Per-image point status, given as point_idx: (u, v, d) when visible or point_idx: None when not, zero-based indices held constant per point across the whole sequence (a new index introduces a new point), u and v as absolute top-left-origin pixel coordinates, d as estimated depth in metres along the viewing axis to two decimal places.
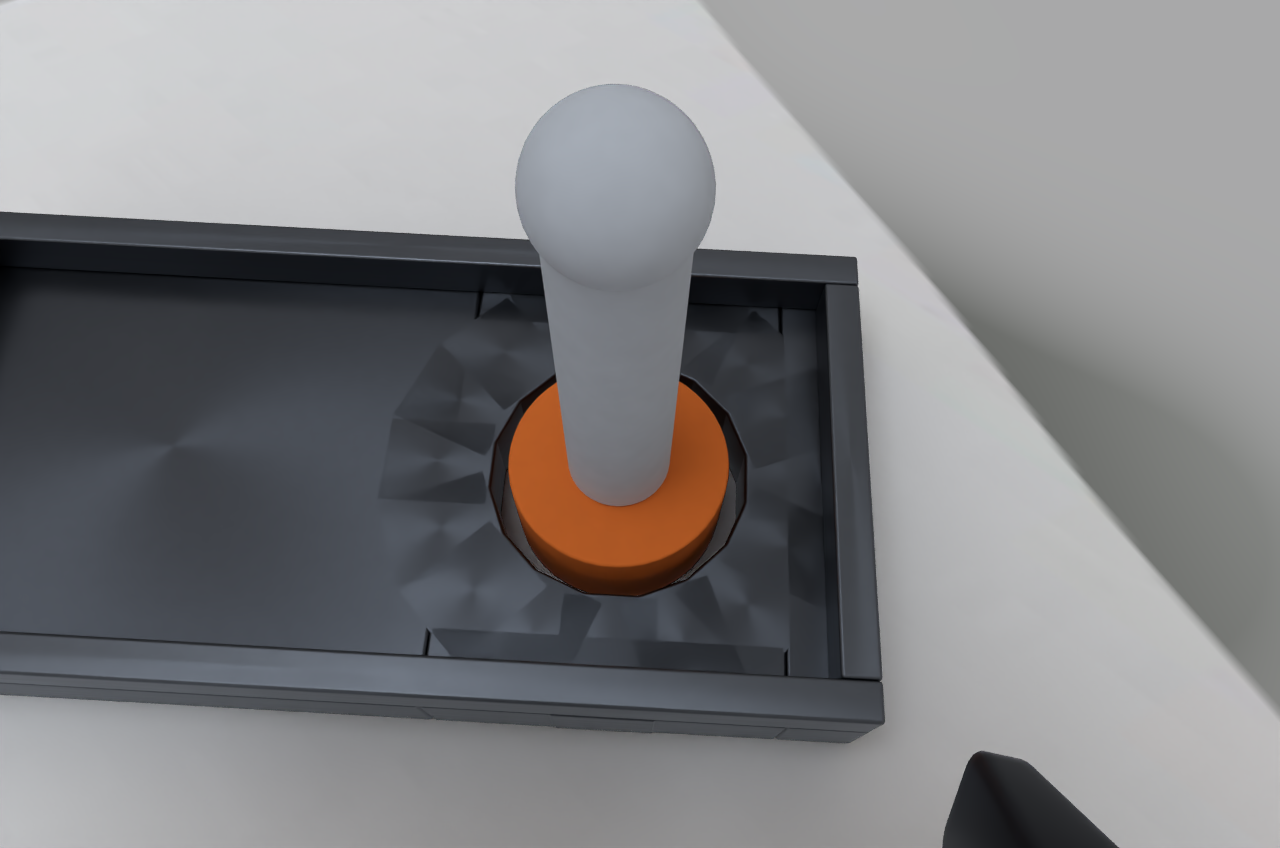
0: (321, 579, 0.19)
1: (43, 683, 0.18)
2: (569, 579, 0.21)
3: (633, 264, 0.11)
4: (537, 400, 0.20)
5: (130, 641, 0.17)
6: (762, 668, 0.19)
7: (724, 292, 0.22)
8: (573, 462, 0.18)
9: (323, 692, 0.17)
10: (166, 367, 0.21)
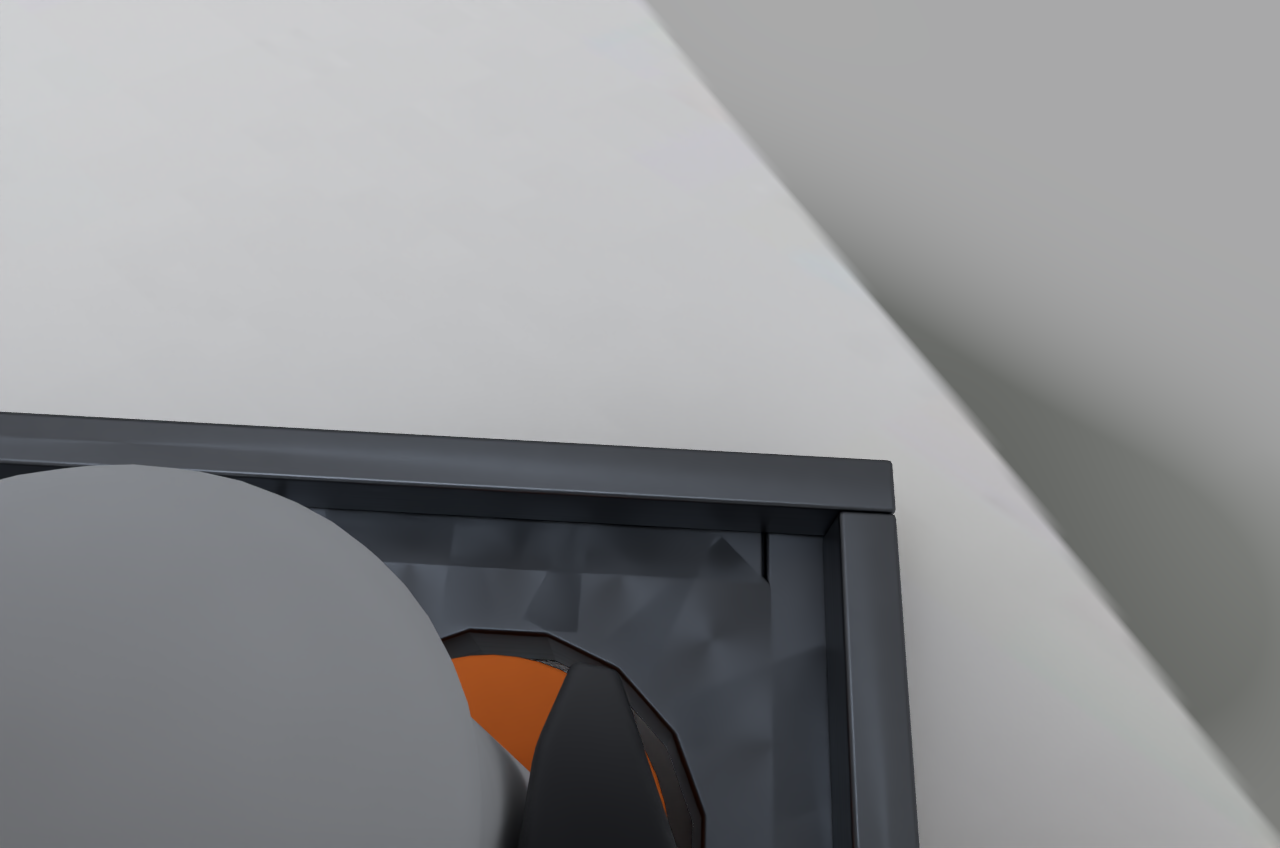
0: None
1: None
2: None
3: None
4: None
5: None
6: None
7: (671, 515, 0.13)
8: None
9: None
10: None
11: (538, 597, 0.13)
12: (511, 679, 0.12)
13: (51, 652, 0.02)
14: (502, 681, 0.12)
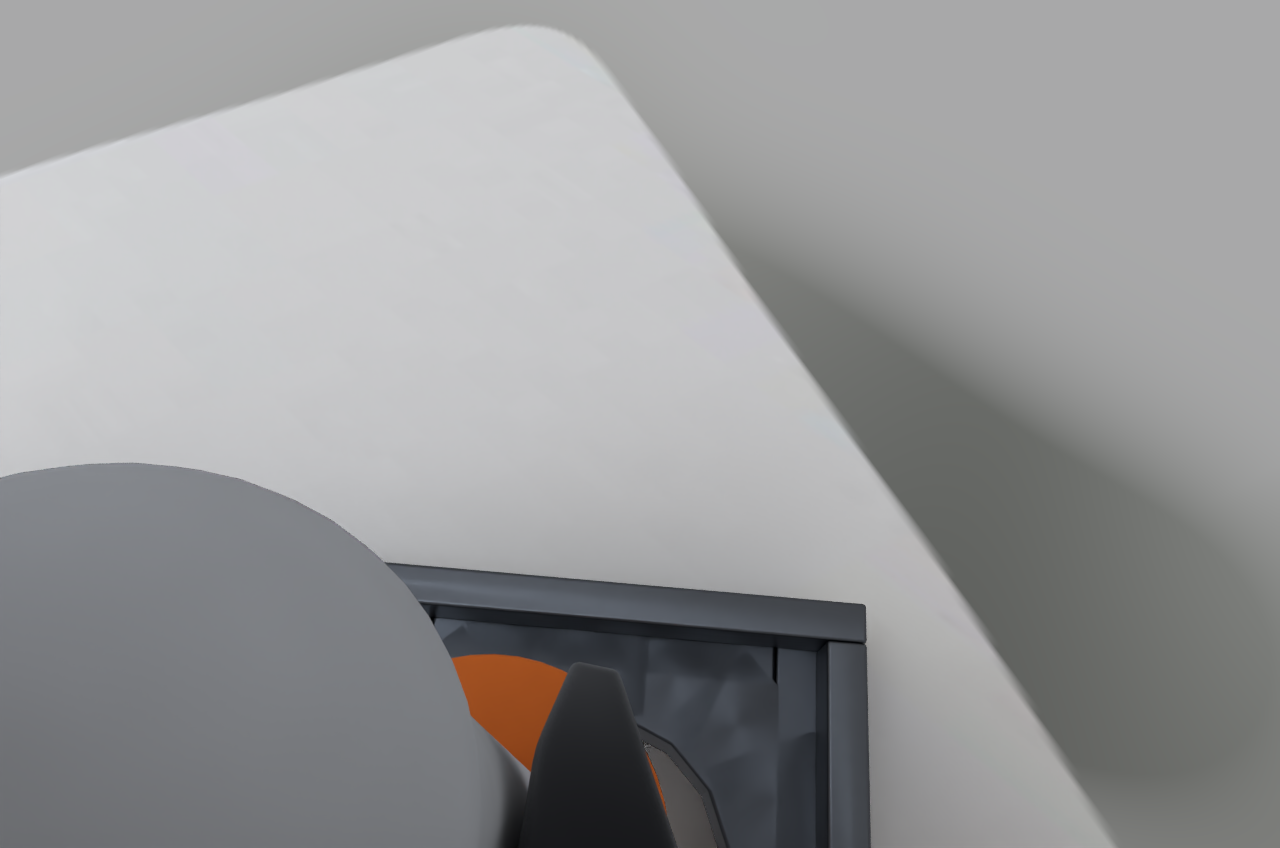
0: None
1: None
2: None
3: None
4: None
5: None
6: None
7: (710, 636, 0.19)
8: None
9: None
10: None
11: None
12: (511, 678, 0.12)
13: (51, 649, 0.02)
14: (502, 680, 0.12)
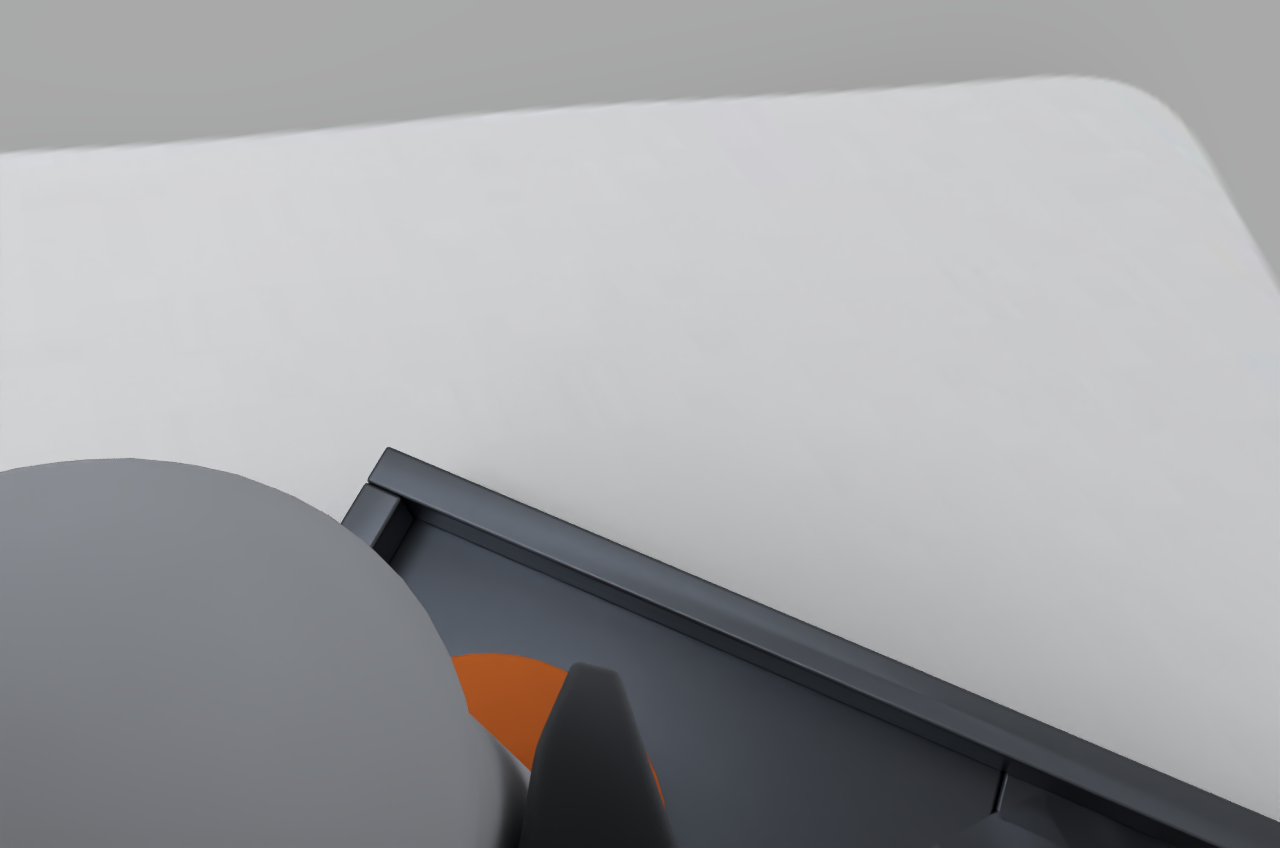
0: None
1: None
2: None
3: None
4: None
5: None
6: None
7: None
8: None
9: None
10: None
11: None
12: (510, 677, 0.12)
13: (48, 643, 0.02)
14: (501, 679, 0.12)
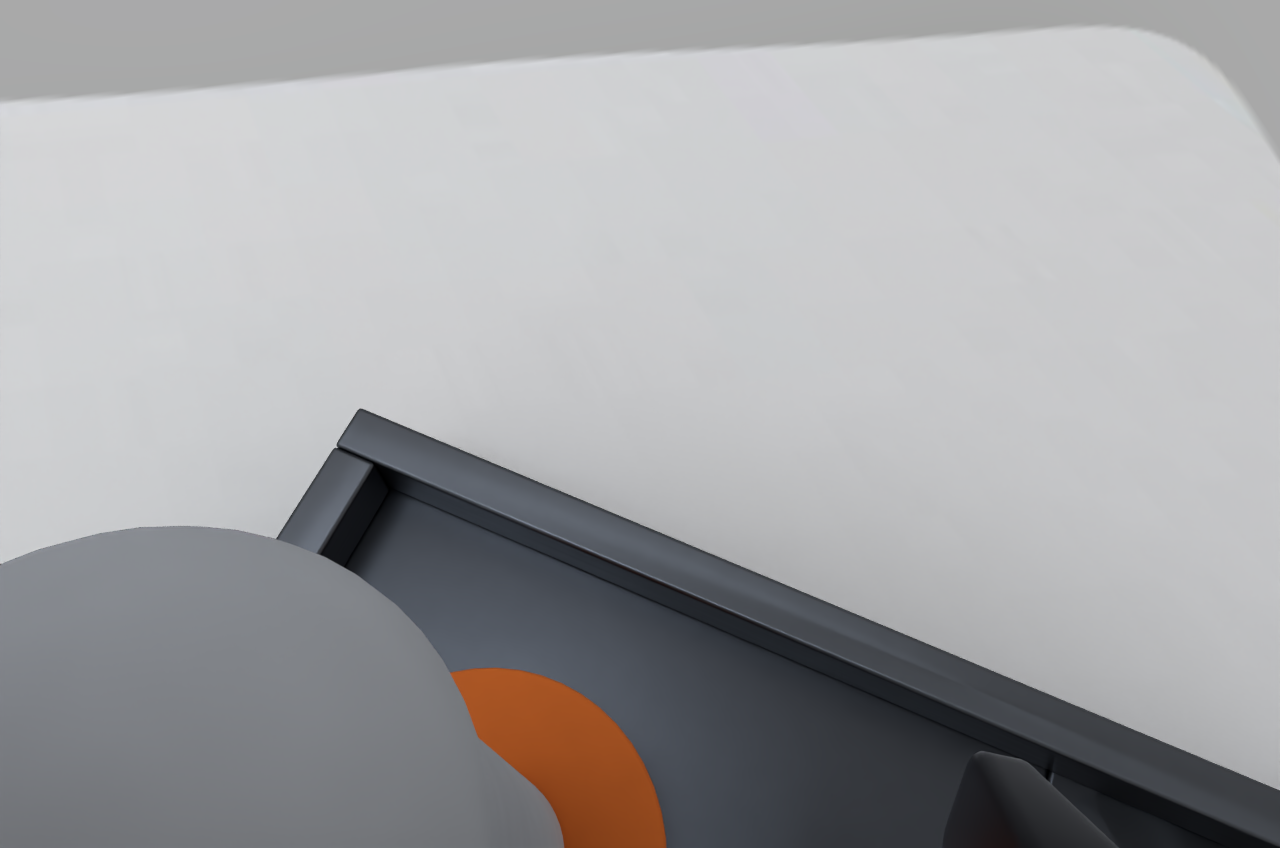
0: None
1: None
2: None
3: None
4: None
5: None
6: None
7: None
8: None
9: None
10: None
11: None
12: (513, 692, 0.12)
13: (125, 708, 0.03)
14: (504, 694, 0.12)
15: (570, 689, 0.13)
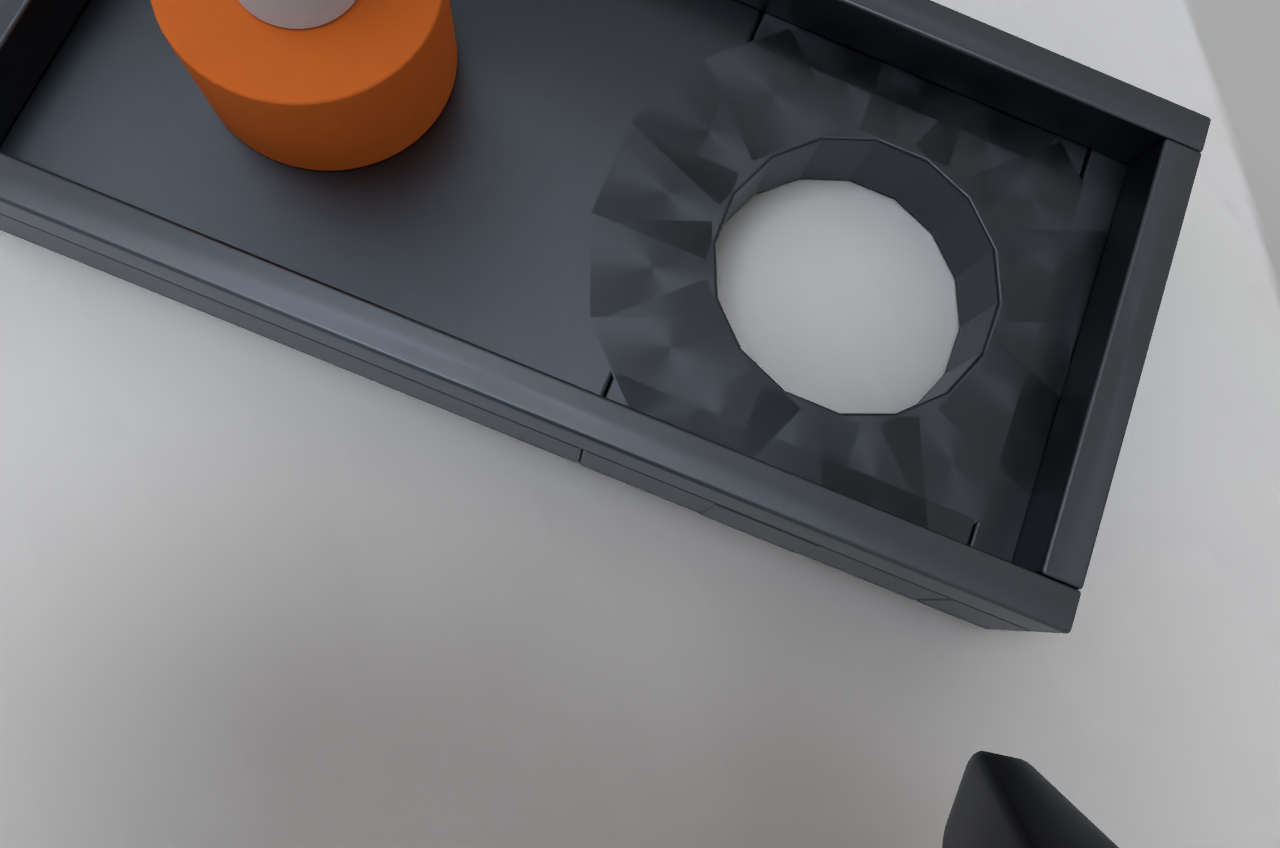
0: (511, 280, 0.17)
1: (199, 291, 0.16)
2: (258, 144, 0.17)
3: None
4: None
5: (307, 279, 0.15)
6: (946, 532, 0.17)
7: (1041, 108, 0.18)
8: None
9: (500, 403, 0.15)
10: None
11: (927, 135, 0.19)
12: None
13: None
14: None
15: None
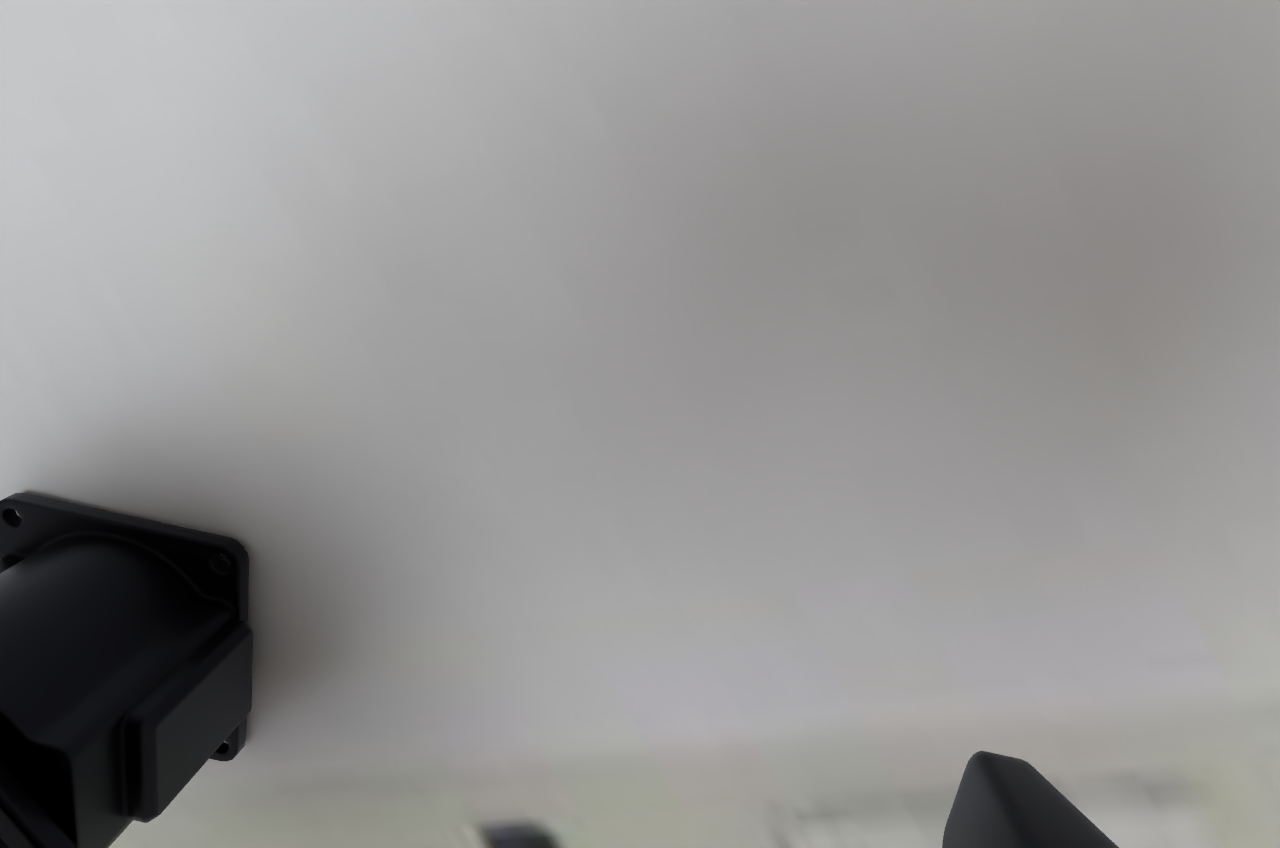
0: None
1: None
2: None
3: None
4: None
5: None
6: None
7: None
8: None
9: None
10: None
11: None
12: None
13: None
14: None
15: None
